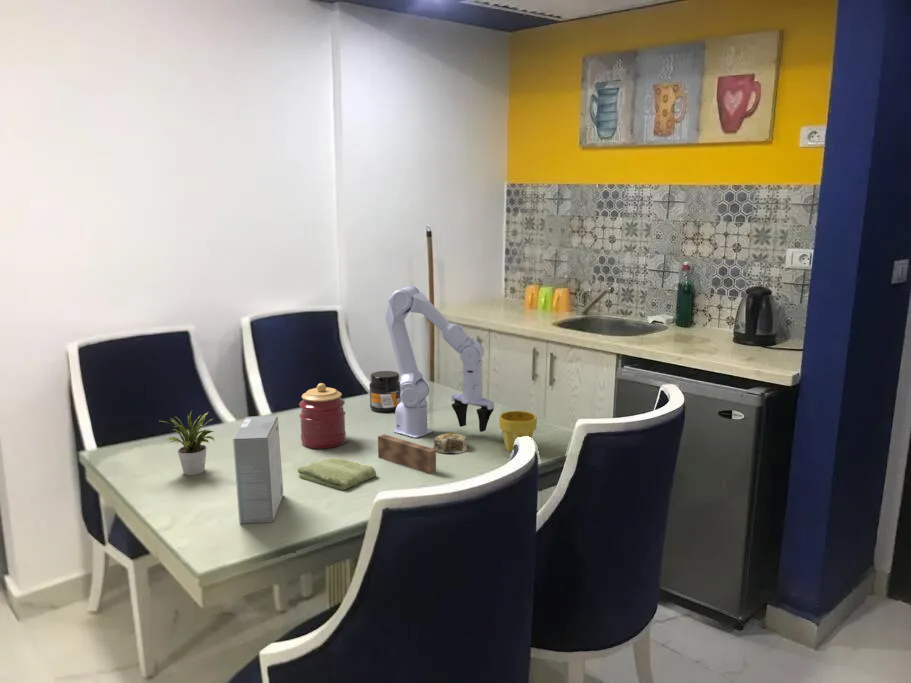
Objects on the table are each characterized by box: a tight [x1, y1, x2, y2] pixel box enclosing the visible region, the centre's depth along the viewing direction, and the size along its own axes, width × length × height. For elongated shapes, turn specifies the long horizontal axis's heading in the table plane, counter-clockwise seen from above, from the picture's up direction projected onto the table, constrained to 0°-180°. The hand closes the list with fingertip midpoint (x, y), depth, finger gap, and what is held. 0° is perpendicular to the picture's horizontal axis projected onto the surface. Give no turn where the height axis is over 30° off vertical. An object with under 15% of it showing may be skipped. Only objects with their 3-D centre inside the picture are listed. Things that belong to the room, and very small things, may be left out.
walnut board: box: [377, 433, 437, 475], centre depth 195 cm, size 19×2×6 cm, turn 50°
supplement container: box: [368, 370, 402, 413], centre depth 245 cm, size 10×10×12 cm
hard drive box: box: [232, 415, 284, 525], centre depth 166 cm, size 16×8×20 cm, turn 5°
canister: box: [298, 382, 347, 450], centre depth 212 cm, size 13×13×18 cm
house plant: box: [160, 410, 216, 476], centre depth 188 cm, size 14×14×16 cm
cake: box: [433, 431, 469, 454], centre depth 207 cm, size 10×10×5 cm
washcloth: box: [297, 457, 377, 491], centre depth 187 cm, size 13×18×3 cm
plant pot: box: [498, 410, 538, 453], centre depth 206 cm, size 10×10×10 cm
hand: (472, 428), depth 216 cm, fingers open, 7 cm apart
